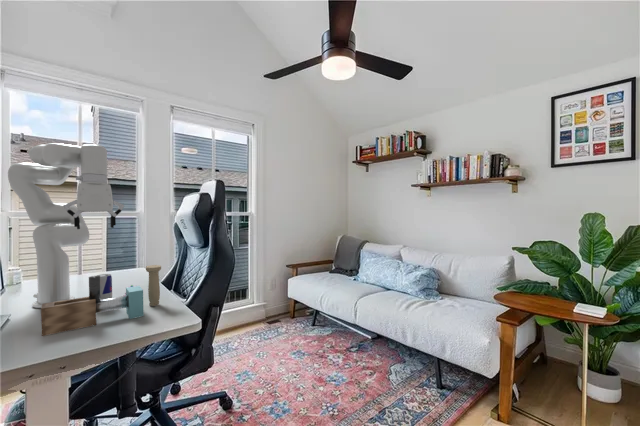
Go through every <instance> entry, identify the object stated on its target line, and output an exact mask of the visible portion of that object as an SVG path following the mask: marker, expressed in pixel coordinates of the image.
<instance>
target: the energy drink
mask: <svg viewBox="0 0 640 426" xmlns="http://www.w3.org/2000/svg"><path fill="white" fill-rule="evenodd" d="M96 276H100V290H101V300H103V299H109V298H113V276H112V274H111V273H103V274H98V275H96Z"/></svg>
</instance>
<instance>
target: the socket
mask: <svg viewBox="0 0 640 426" xmlns="http://www.w3.org/2000/svg"><path fill="white" fill-rule="evenodd" d="M125 293H126V296H127V295H128V296H129V307H127V308H125V310H126V315H127V316H128V319H129V320H131V319H135V318H140V317H144V315H145V314H144V311H145V310H144V289H143V288H142V287H141V286H140V285H137V286H136V285H133V287H129V286H127V287H125Z"/></svg>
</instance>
